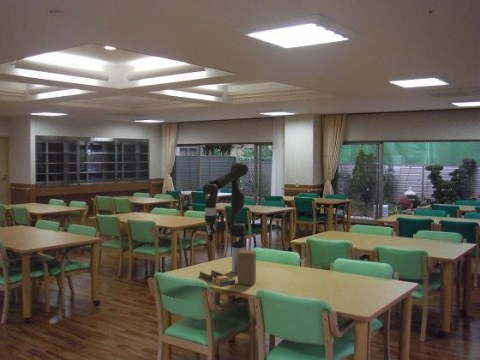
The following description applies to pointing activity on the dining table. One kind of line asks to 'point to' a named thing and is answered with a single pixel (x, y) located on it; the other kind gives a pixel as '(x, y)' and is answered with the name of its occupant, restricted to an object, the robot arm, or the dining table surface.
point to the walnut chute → (209, 275)
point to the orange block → (221, 278)
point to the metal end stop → (227, 282)
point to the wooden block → (246, 267)
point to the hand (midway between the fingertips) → (210, 240)
